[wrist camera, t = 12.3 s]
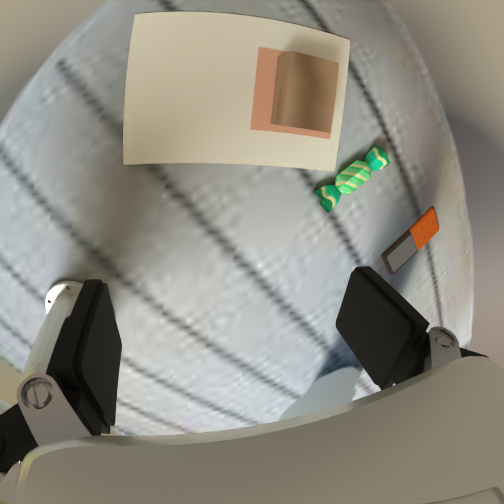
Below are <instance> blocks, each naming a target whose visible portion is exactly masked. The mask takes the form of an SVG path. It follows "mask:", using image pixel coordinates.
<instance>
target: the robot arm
mask: <svg viewBox="0 0 504 504" xmlns="http://www.w3.org/2000/svg"><path fill="white" fill-rule="evenodd" d="M45 307H46V311H47V316H46V318H45V320H44V322H43V324H42V326H41V329H40V331H39V333H38V335H37V338H36V340H35V342H34V345H33V347H32V350H31V352H30V355H29V357H28V360H27V362H26V365H25V368H24V371H23V374H22V377H21V384H20V385H19V388H18V390H17V400H18V403H17V404H16V405H14V406H13V407H12V406H10V405H8V404H7V403H5V402H4V401H2V400H1V399H0V504H504V370H503V369H502V368H501V367H500V366H499V365H498V364H497V363H496V362H495V361H493V360H492V359H490V358H489V357H487V356H486V355H482V354H479V353H476V352H472V351H469V350H466V349H463V348H460V347H459V342H458V340H457V338H456V336H455V335H454V334H453V333H452V332H451V331H449V330H448V329H446V328H443V327H439V326H437V327H433V328H431V329H430V331H429V333H427V332H426V329H427V328H428V326H429V324H430V323H429V322H428V321H427V320H426V319H425V318H424V317H423V316H422V315H421V314H420V313H419V312H418V311H417V310H416V309H415V308H414V307H413V306H412V305H410V304H409V303H408V302H407V301H406V300H405V299H404V298H403V297H402V296H401V295H400V294H399V293H398V292H397V291H396V290H395V289H394V288H393V287H392V286H390V285H389V284H388V283H387V282H386V281H385V280H384V279H383V278H382V277H381V276H380V275H379V274H377V273H376V272H375V271H374V270H373V269H372V268H371V267H369V266H364V267H356V268H355V269H354V271H352V273H351V275H350V279H349V282H348V285H347V289H346V292H345V295H344V298H343V301H342V305H341V308H340V311H339V314H338V317H337V320H336V328H337V330H338V331H339V333H340V334H341V336H342V337H343V338H344V340H345V341H346V343H347V344H348V346H349V347H350V349H351V350H352V351H353V353H354V354H355V356H356V357H357V359H358V360H359V362H360V363H361V364H362V366H363V367H364V369H365V370H366V372H367V373H368V375H369V376H370V378H371V379H372V381H373V382H374V383H375V384H376V385H378V386H379V387H380V389H381V390H382V391H379V392H376V393H374V394H371V395H368V396H366V397H363V398H360V399H357V400H354V401H351V402H348V403H345V404H342V405H339V406H336V407H332V408H329V409H325V410H322V411H318V412H315V413H311V414H307V415H303V416H299V417H296V418H291V419H286V420H282V421H277V422H272V423H267V424H262V425H256V426H251V427H244V428H238V429H231V430H223V431H215V432H205V433H193V434H178V435H157V436H101V433H105V434H110V426H114V425H115V415H116V399H117V387H118V376H119V367H120V359H121V351H122V343H121V338H120V335H119V331H118V327H117V324H116V320H115V316H114V312H113V308H112V304H111V299H110V295H109V290H108V286H107V284H106V283H102V281H101V280H100V279H91V280H85V281H84V284H83V283H81V282H77V281H61V282H59V283H56V284H55V285H53V286H52V287H51V289H50V290H49V292H48V294H47V295H46V299H45ZM394 383H395V384H396V385H394V386H393V384H394Z"/></svg>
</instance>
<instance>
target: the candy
mask: <svg viewBox="0 0 504 504" xmlns="http://www.w3.org/2000/svg"><path fill="white" fill-rule="evenodd" d="M388 164H390V161H389V159H388V157H387V155H386V153H385V151H383V150H382V149H381V148H380V147H378V146H377V145H376V144H375V146H374V147H373V148H372V149H371V150H370V151H369V152H368V153H367V154H366V156H365V160H364V162H362V161H358V160H356V161H355V162H354V163H352V164H351V165H350V166H349V167H347V168H346V169H345V170H343V171H342V172H341V173H339V174H338V175H337V177H336V179H335V185H326V186H323V187H321V188H320V189H318V190H316V191H314V193H316V194H317V195H318V196H319V197H320V198H321V199H322V202H321V204H320V205H321V206H322V207H323V208H324V209H325V210H326V211H327V212H330V211H331V210H332V208H333V207H334V206H335V205H336V204H337V203H338V201H339V198H340V196H341V193H342V194H347V195H349V194H350V193H351V192H353V191H354V190H355V189H357V188H358V187H359V186H360V185H362V184H363V183H364V182H365V181H367V180H368V179H369V178H370V177H371V171H378V170H380V169H382V168H384V167H386V166H387V165H388Z"/></svg>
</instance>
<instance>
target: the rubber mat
mask: <svg viewBox="0 0 504 504" xmlns="http://www.w3.org/2000/svg"><path fill="white" fill-rule="evenodd" d="M349 50H350V40H348V39H345V38H342V37H339V36H336V35H333V34H329V33H326V32H323V31H319V30H316V29H312V28H308V27H304V26H300V25H296V24H292V23H287V22H282V21H277V20H272V19H266V18H260V17H253V16H246V15H237V14H227V13H214V12H154V13H141V14H135V18H134V23H133V29H132V35H131V42H130V49H129V56H128V65H127V74H126V86H125V100H124V122H123V165H133V164H158V163H222V164H249V165H266V166H281V167H293V168H304V169H314V170H323V171H332V172H334V171H335V165H336V159H337V153H338V146H339V139H340V132H341V125H342V118H343V110H344V102H345V93H346V84H347V74H348V62H349ZM289 51H294V52H299V53H303V54H307V55H311V56H315V57H319V58H323V59H327V60H330V61H334V62H337V63H339V66H338V75H337V85H336V94H335V102H334V110H333V117H332V125H331V132H330V133H326V132H321V131H315V130H309V129H302V128H295V127H288V126H281V125H275V124H270V123H271V114H272V105H273V96H274V87H275V78H276V69H277V60H278V57H279V56H281V55H283V54H285V53H287V52H289Z"/></svg>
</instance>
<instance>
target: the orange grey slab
mask: <svg viewBox="0 0 504 504" xmlns="http://www.w3.org/2000/svg"><path fill="white" fill-rule="evenodd" d="M438 230H439V225H438V221H437V218H436V214H435V210H434V208H433V207H431V208H430V209H429V210H428V211H427V212H426V213H425V214H424V215H423V216H422V217H421V218H420V219H419V220H418V221H416V222H415V223H414V224H413V225H412V226H411V227H410V228H409V229H408V230H407V231H406V232H405V233H404V234H403V235H402V236H401V237H400V238H399V239H397V240H396V241H395V242H394V243H393V244H392V245H391V246H390V247H389V248H388V249H387V250H385V251H384V252H383V253H382V254H381V258H382V260H383V262H384V264H385V266H386V268H387V270H388V273H389V274H390V275H393V274H394V273H395V272H396V271H397V270H399V269H400V268H401V267H402V266H403V265H404V264H405V263H406V262H407V261H408V260H409V259H410V258H411V257H412V256H413V255H415V254H416V253H417V252H418V251H419V250H420V249H421V248H422V247H423V246H424V245H425V244H426V243H427V242H428V241H429V240H430V239H431V238H432V237H433V236H434V235H435V234H436V233H437V232H438Z"/></svg>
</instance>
